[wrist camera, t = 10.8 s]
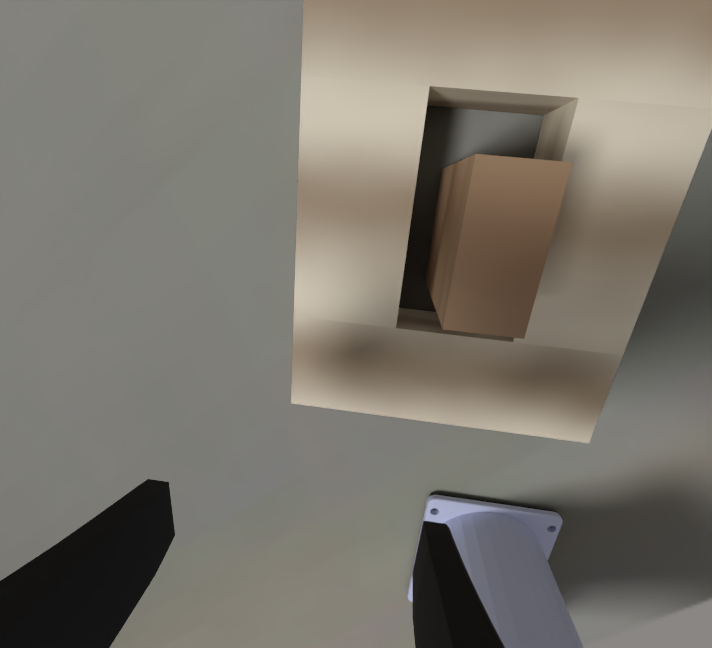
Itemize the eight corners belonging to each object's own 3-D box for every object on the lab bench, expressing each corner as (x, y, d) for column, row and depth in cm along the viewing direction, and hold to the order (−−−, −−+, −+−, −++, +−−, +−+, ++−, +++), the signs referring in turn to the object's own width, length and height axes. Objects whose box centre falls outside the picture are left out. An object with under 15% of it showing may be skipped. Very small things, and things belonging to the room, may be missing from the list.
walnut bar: (475, 284, 18) (524, 338, 11) (424, 278, 18) (442, 329, 11) (499, 174, 16) (572, 162, 9) (442, 169, 16) (475, 153, 10)
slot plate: (560, 406, 19) (588, 443, 17) (305, 373, 20) (291, 403, 17) (704, -16, 13) (789, -72, 10) (324, -39, 14) (306, -96, 11)
